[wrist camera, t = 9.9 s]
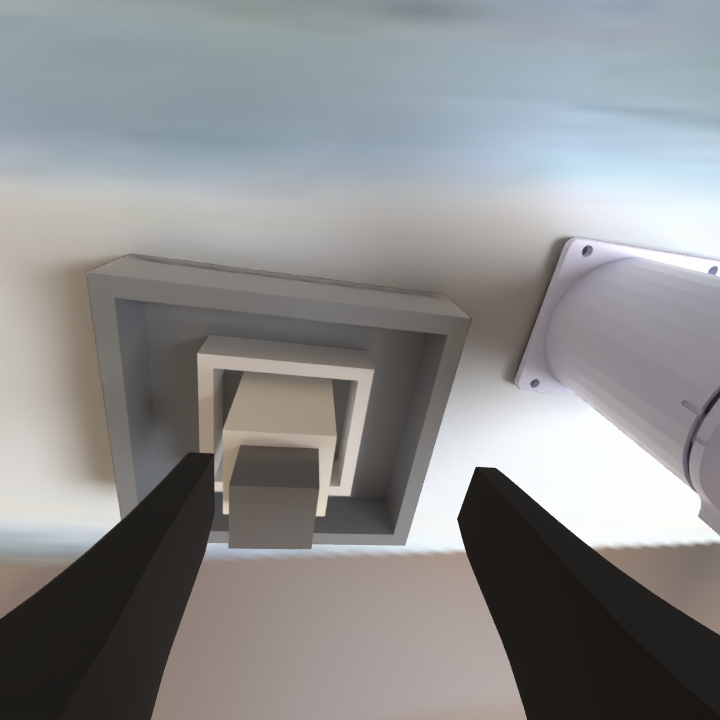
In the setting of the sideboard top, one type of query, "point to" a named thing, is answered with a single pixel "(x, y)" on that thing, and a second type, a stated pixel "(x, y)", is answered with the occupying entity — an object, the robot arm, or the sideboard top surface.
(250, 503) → the connector
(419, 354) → the walled box
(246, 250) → the sideboard top surface
